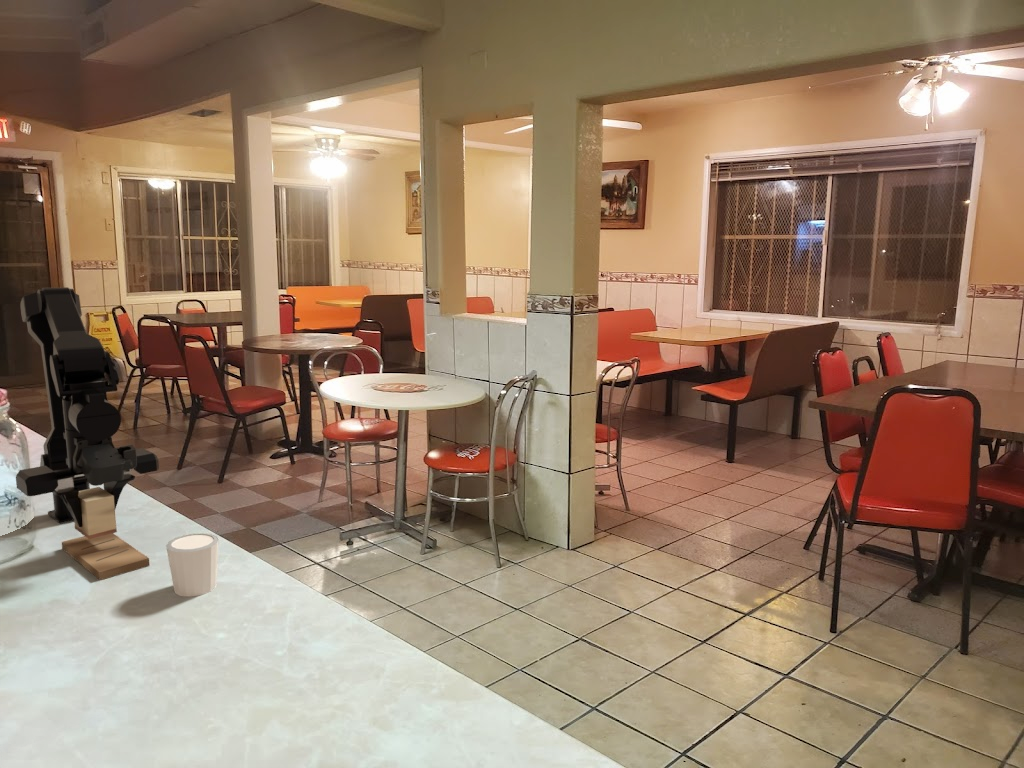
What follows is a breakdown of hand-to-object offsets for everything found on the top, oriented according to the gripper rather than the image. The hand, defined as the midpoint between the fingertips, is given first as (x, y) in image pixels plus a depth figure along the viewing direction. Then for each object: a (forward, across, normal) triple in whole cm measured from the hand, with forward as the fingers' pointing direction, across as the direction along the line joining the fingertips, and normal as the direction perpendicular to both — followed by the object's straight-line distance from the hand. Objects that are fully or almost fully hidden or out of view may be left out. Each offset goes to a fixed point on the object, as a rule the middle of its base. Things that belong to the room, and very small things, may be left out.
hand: (95, 522), depth 118 cm
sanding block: (+1, 0, 0) cm, 1 cm away
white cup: (+5, +5, -23) cm, 24 cm away
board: (+5, 0, -3) cm, 6 cm away
